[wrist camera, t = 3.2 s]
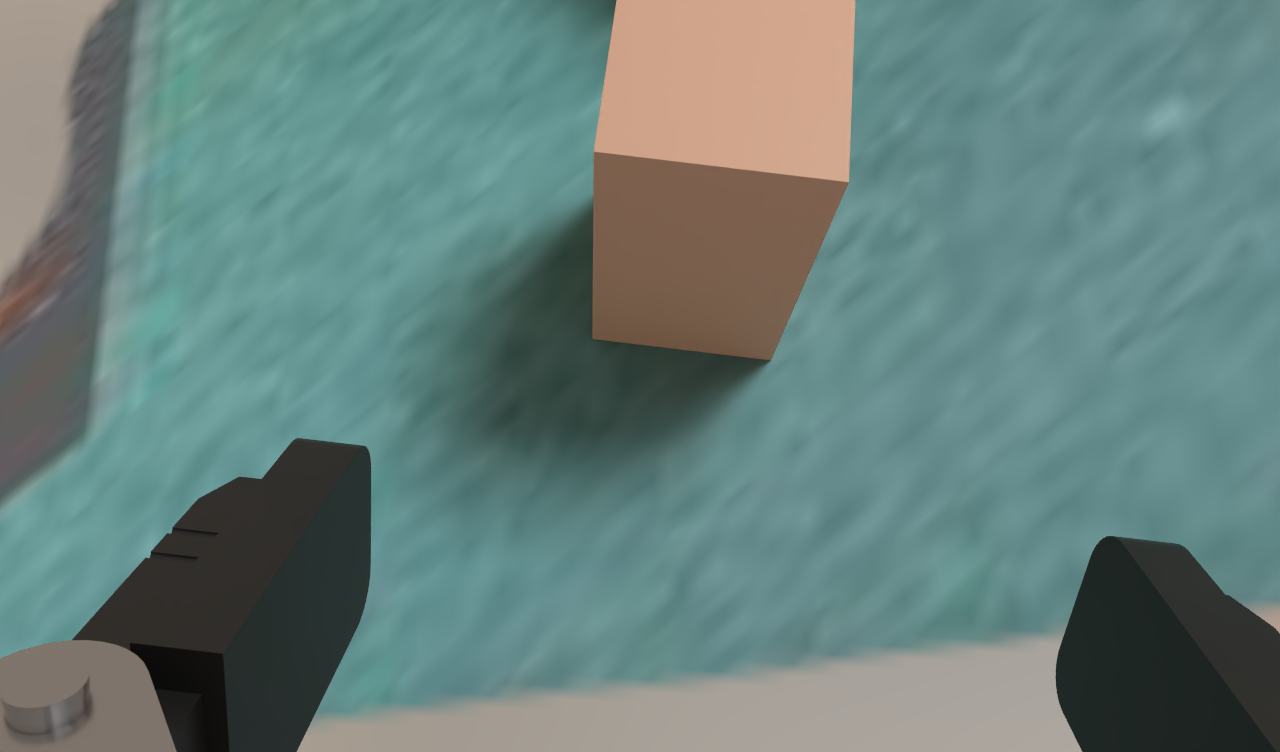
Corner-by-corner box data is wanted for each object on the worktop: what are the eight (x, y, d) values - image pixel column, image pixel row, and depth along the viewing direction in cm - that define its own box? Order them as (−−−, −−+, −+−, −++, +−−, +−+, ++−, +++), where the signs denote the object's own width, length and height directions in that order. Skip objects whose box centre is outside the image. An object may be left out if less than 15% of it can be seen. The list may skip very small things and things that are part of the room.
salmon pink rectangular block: (780, 206, 30) (855, -17, 21) (770, 360, 28) (848, 181, 19) (613, 185, 30) (623, -45, 21) (592, 338, 28) (593, 151, 19)
